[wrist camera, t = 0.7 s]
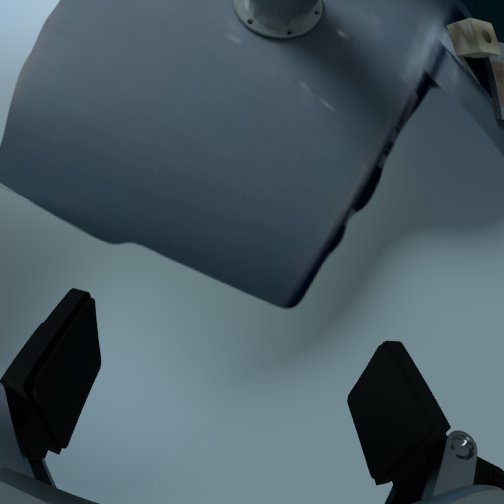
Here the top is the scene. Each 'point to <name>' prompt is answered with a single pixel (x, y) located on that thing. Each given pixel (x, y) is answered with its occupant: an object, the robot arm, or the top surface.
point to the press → (496, 80)
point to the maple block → (473, 38)
